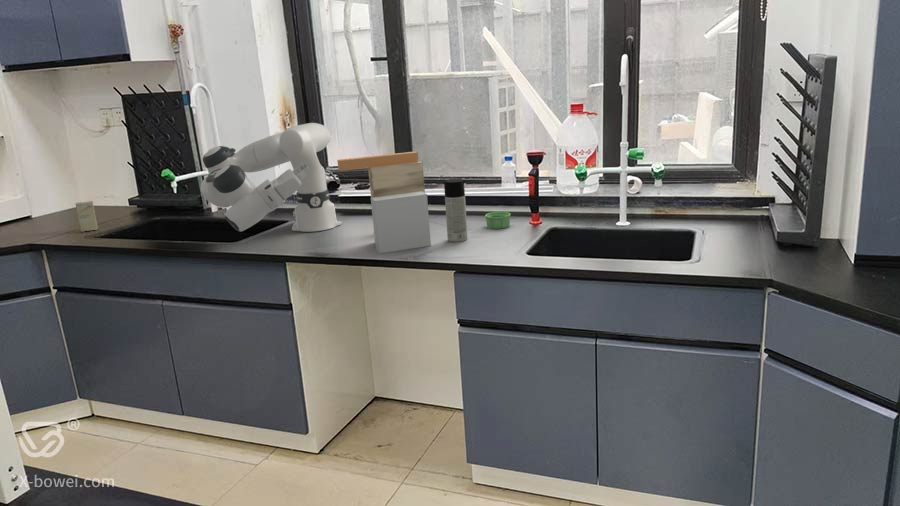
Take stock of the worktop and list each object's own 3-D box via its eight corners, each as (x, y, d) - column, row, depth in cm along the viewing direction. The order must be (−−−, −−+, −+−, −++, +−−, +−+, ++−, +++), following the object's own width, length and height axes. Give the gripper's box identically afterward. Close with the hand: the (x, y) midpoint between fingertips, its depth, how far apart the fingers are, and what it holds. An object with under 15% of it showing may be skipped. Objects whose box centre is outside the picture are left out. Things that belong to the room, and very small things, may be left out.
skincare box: (81, 233, 269) (74, 204, 266) (82, 231, 273) (75, 202, 270) (98, 230, 272) (91, 202, 268) (98, 228, 276) (92, 200, 272)
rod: (338, 169, 210) (337, 159, 209) (415, 161, 218) (414, 151, 217) (340, 170, 207) (339, 160, 206) (418, 162, 215) (417, 152, 214)
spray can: (470, 237, 219) (466, 178, 213) (464, 242, 213) (460, 182, 207) (451, 237, 221) (447, 178, 216) (444, 242, 215) (440, 182, 210)
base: (375, 249, 212) (370, 197, 208) (425, 241, 218) (421, 191, 213) (380, 253, 207) (374, 200, 202) (430, 245, 212) (426, 194, 207)
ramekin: (497, 230, 226) (497, 218, 224) (480, 227, 233) (479, 215, 231) (516, 225, 231) (515, 213, 230) (499, 222, 238) (498, 210, 237)
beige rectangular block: (375, 242, 221) (367, 165, 214) (423, 235, 226) (417, 160, 219) (379, 246, 216) (371, 167, 209) (428, 238, 221) (422, 162, 214)
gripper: (276, 196, 215) (310, 171, 217) (281, 206, 197) (318, 179, 198) (264, 181, 213) (298, 156, 215) (267, 190, 194) (305, 162, 196)
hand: (307, 167), depth 206 cm, fingers open, 8 cm apart
